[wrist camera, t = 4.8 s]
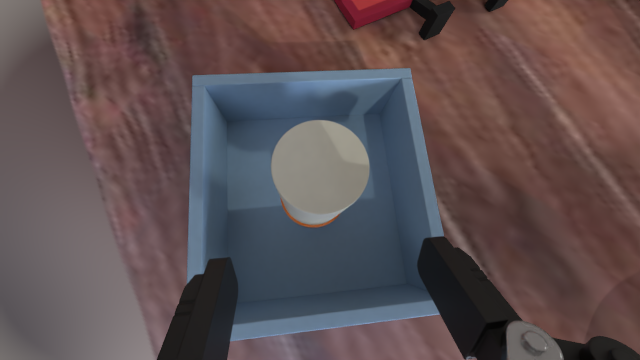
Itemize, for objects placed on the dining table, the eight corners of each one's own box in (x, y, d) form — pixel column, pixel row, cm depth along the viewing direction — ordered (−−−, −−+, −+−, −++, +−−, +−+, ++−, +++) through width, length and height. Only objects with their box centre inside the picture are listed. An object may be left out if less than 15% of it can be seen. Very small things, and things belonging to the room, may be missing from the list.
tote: (219, 116, 22) (192, 74, 16) (384, 108, 23) (410, 67, 17) (219, 315, 18) (184, 347, 13) (415, 292, 19) (460, 312, 14)
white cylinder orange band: (302, 159, 21) (302, 99, 12) (352, 188, 20) (390, 148, 12) (270, 209, 19) (245, 183, 11) (323, 240, 19) (342, 239, 10)
